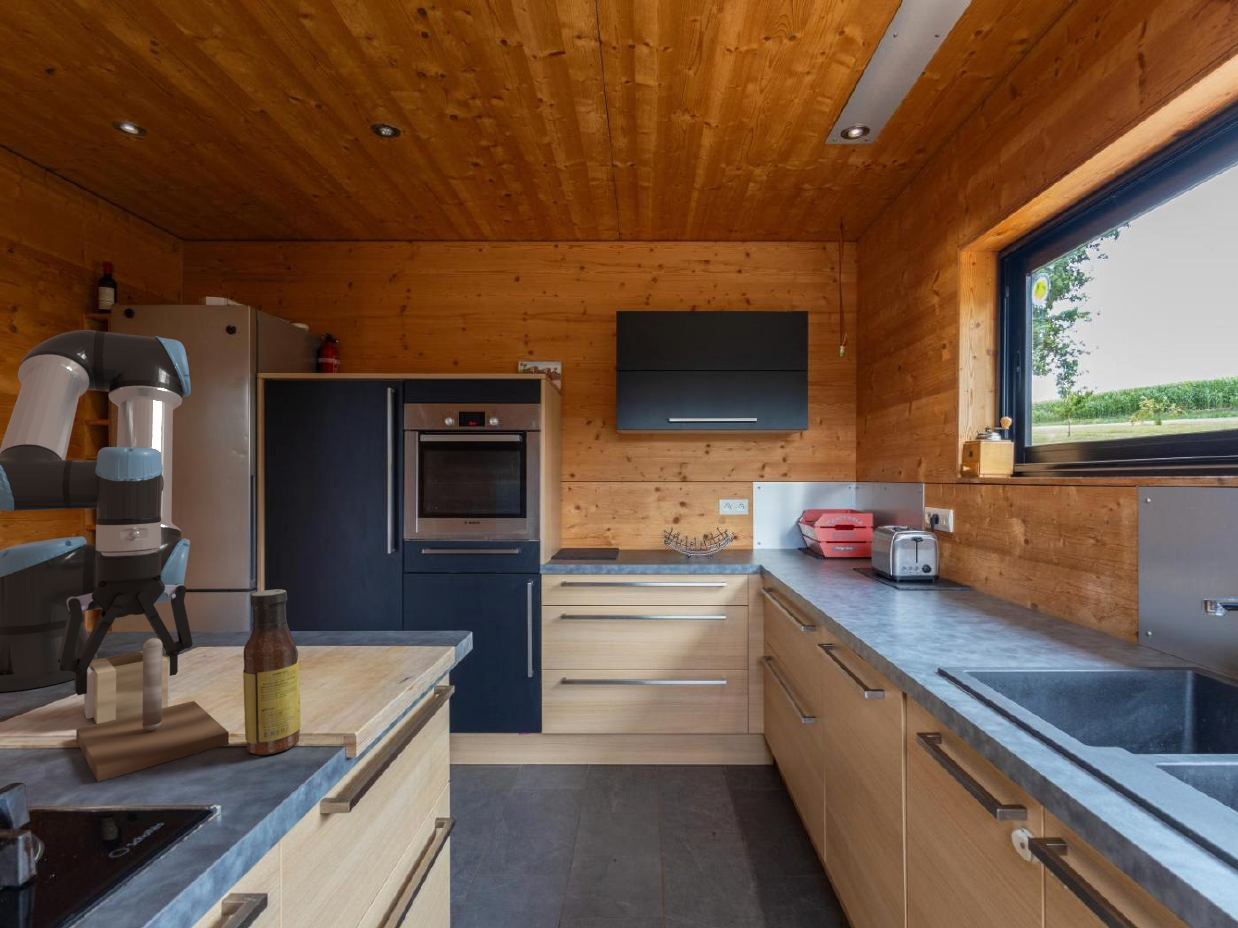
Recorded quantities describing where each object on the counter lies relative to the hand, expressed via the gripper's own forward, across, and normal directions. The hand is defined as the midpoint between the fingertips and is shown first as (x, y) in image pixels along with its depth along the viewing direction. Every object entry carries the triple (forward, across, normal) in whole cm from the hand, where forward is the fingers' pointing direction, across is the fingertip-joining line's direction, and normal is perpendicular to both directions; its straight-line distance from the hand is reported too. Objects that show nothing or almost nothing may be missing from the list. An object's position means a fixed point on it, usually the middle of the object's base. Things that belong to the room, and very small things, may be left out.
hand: (128, 706), depth 90 cm
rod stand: (+1, 0, -15) cm, 15 cm away
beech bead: (0, 0, 0) cm, 0 cm away
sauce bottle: (+1, +10, -28) cm, 30 cm away
